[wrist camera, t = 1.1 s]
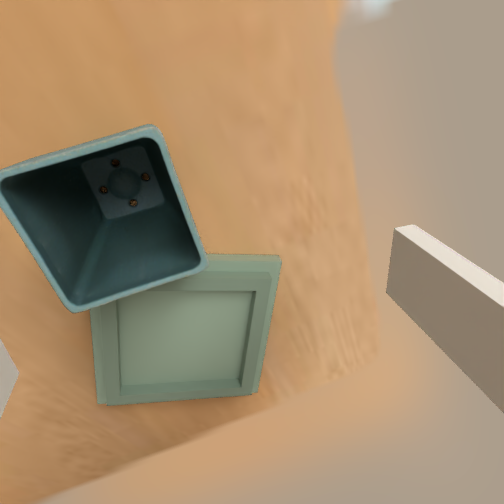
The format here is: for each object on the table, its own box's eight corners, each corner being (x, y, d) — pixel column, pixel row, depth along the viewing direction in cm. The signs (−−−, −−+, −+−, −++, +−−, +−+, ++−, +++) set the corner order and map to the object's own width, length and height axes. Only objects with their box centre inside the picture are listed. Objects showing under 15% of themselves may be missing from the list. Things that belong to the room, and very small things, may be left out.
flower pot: (160, 103, 25) (158, 123, 18) (200, 215, 30) (211, 270, 22) (36, 140, 25) (-22, 177, 17) (95, 248, 29) (70, 316, 22)
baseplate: (99, 394, 36) (95, 414, 34) (88, 251, 29) (82, 266, 27) (254, 383, 40) (259, 401, 38) (278, 255, 33) (285, 268, 31)
